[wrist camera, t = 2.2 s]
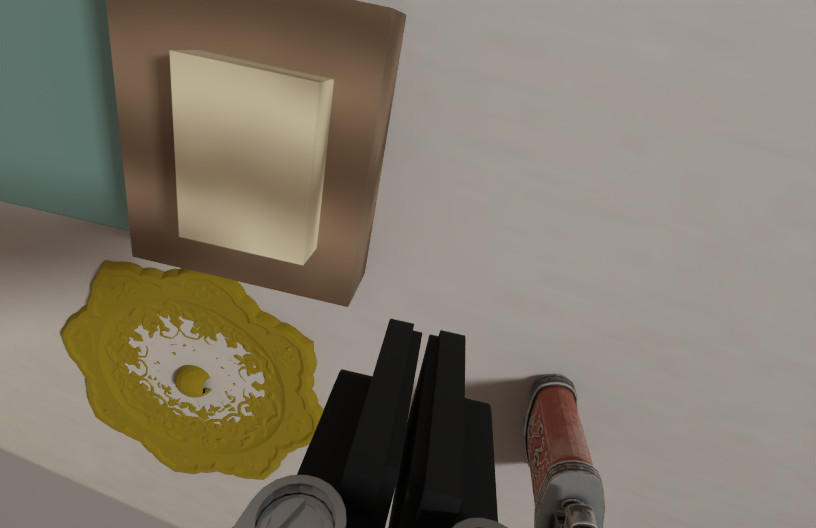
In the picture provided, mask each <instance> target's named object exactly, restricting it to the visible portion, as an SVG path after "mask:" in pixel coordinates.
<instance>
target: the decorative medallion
mask: <svg viewBox="0 0 816 528" xmlns="http://www.w3.org/2000/svg"><path fill="white" fill-rule="evenodd" d="M157 314H159V316H162V317H163V318H168V314H169V317H170V319H171V320H169V321H170V322H171V323H172V324H173V325H175V326H176V327H177V328H178V332H179V330H180V326H181V325H182V324H183V323H184V322H182V321H181V320H180V319H178V318H179V317H180V316H182V318H183V319H187V320H191V321H194V322H195V323H194V327H196V328H199V327H200V328H199V330H198V329H196V328H194V327H193V328H192V329H191V331H190V332H191V333H193V334H195V335H196V333H199V337H198V339H200V338H201V337H203V336H205V337H204V340H205V341H206V338H207V337H208V336H209V337H210V339H212V340H214V341H217V338H216V334H218V333H219V332H220V333H221V334H222V335H223V336H224V337H226V338H225V340H226V343H227V347H233V348H237V343H236V342H238V343H240V344H241V345H242V346H243V348H244V349H245V350H246V351H247V352H250V353H253V354H245V355H243V358H244V359H245V360H244V359H243V358H242V357H241V356H239V355H234V357H235V358H236V359H238V360H239V361H241V362H240V363H238V364H237V365H242V364H243V363H244V364H245V366H246V367H244V366H242V367H241V368H240V369H239V371H240V370H242V369H244V368H245V369H246V370H247V375H248V376H250V375H251V373H253V374H256V373H258V372H262V371H263V376H264V379H265V382H264V384H262V385H261V384H259V383H258V382H256V381H255V382H254V383H252V387H254V388H255V389H256V390H258V391H260V389H261V390H264V391H265V396H264V397H262V396H261V397H258V398H256V397H255V396H254V395H253V394H252V393H249V396H250V398H251V399H249V398H248V397H246V396H245V395H244V390H243V397H244V398H245V399H246V401H243V402H241V403H239V404H238V413H239V414H237V413H230V414H228V415H227V416H225V417H224V418H223V419H210V420H207V419H209V417H208V415H209V416H213V415H215V412H216V411H217V410H219V409H220V408H221V407H215V408H214V406H213V405H210V408H211V409H209V410H208V411H209V412H213V411H215V412H214V413H207V411H206V409H205V406H203V407H202V409H201V410H200V411H195V410H196V407H194V406H193V405H192V404H191V403H188V402H186V403H185V402H180V403H181V404H182V405H180V404H179V403H178V401H179V400H180V399H181V398H180V399H178V400H175V399H172V398H171V397H169V396H168V395H167V394H166V393H167V392H168V394H171V392H170V391H169V390H171V388H170V387H169V386H168V387H167V388H166V387H165V386H164V385H162V384H161V385H162V388H163V389H164V390H165V391H164V394H165V395H166V396H167V397H169V401H168V404H169V406H174V405H179V407H180V408H187V406H189V410H190V411H191V412H193V413H196V414H197V415H198V416H199V417H200V418H202V419H203V420H202V419H200V418H199V417H192V416H186V415H185V414H184V413H183V412H182V411H181V410H179V409H176V408H174V407H173V408H169V407H168V404H167V402H166V400H165V399H164V398H163V397H161V396H160V395H159V394H156V393H154V387H153V386H152V385H151V384H150V382H149V381H148V380H147V379H145V378H143V377H145V376H146V375H147V365H146V364H145V362H144V361H143V360H141V359H137V358H138V357H146V356H147V354H148V348H147V346H146V348H147V352H146V355H145V356H139V355H138V351H139V352H141V349H140V347H137V348H133V347H132V346H131V345H130V344H128V343H129V341H130V338H129V337H132V338H134V339H133V340H136V341H143V339H142V335H140V334H138V333H136V332H135V331H134V329H136V328H138V326H139V325H141V323H142V326H143V328H144V329H146V330H148V331H150V332H149V333H148V334H149V337H150V338H152V337H153V334H154V332H155V331H158V329H157V326H158V325H159V327H160V335H161V336H163V337H165V338H170V339H172V338H174V337H175V336H174V337H172V338H171V337H167V336H164V335H163V333H162V331H167V332H169V330H170V329H169V328H167V327H165V326H164V325H165V324H164V323H163V321H162V320H161V319H160V317H159V316H158V315H157ZM149 322H151V323H150V325H149ZM153 323H155V324H153ZM180 331H181V330H180ZM178 332H177V335H178ZM181 333H182V334H183V335H184V336H185V337H187V336H186V335H185V334H184V333H183V332H182V331H181ZM177 335H176V336H177ZM202 335H203V336H202ZM61 337H62V340H63V343H64V345H65V348H66V350H67V352H68V354H69V356H70V357H71V359H72V360H73V361H74V362H75V363H76V364H77V366H78V368H79V369H80V371H81V372H82V374H83V375H84V376H85V377H86V379H87V381H86V387H87V391H88V395H87V396H88V400H89V404H90V405H91V407H92V409H93V412H94V414H95V416H96V417H97V418H98V419H99V420H101V421H102V422H104V423H105V424H107V425H108V426H110V427H111V428H113V429H115V430H117V431H118V432H121V433H124V434H125V435H127V436H129V437H131V438H133V439H135V440H138V441H140V442H141V443H142V445H143V446H144V447H145V448H146V449H147V450H148V451H149V452H151V453H153V455H154V456H155V457H156V458H157V459H158V460H159V461H160V462H161V463H163V464H164V465H166V466H167V467H169V468H170V469H172V470H173V471H175V472H183V473H190V474H197V473H200V472H204V473H210V472H215V471H217V472H221V473H224V474H227V475H235V476H238V477H242V478H247V479H260V480H264V479H266V478H267V477H268V476H269V475H270V474H271V473H273V472H274V471H275V470H277V468H278V467H279V466H280V463H281V461H282V460H283V459H284V458H285V457H286V456H287V453H289V452H292V451H294V450H296V449H298V448H300V447H304V446H307V445H309V444H310V442H311V440H312V437H313V435H314V432H315V430H316V428H317V425H318V423H319V420H320V418H321V415H322V413H323V411H324V410H323V408H322V407H321V406H320V405H319V404H318V399H317V396H316V394H315V392H314V391H313V390H312V387H313V385H314V377H313V373H314V372H315V369H316V366H317V360H316V356H315V352H314V342H313V341H312V340H310V339H308V338H307V337H305V336H304V335H303V334H302V333H300V332H299V331H298V330H297V329H296V328H294V327H293V326H291V325H289V324H286V323H283V322H281V321H280V320H278V319H277V318H276V317H274V316H272V315H270V314H269V313H266V312H263V311H261V310H260V308H259V307H258V305H257V303H256V302H255V301H254V300H253V299H252V298H250V297H249V296H248V295H246V292H245V290H244V289H243V287H242V286H241V285H240V284H239V283H238V282H237V281H235V280H231V279H227V278H222V277H218V276H214V275H210V274H205V273H201V272H197V271H193V270H188V269H184V268H182V269H171V270H168V271H166V272H164V271H161V270H159V269H156V268H142V267H140V266H138V265H137V264H134V263H131V262H112V261H106V260H105V261H104V263H103V264H102V266H101V269H100V271H99V272H98V273H97V275H96V276H95V278H94V280H93V282H92V285H91V295H90V297H89V300H88V304H87V305H85V306H83V307H82V308H81V309H80V312H77V313H74V314H72V315H71V316H70V318H69V320H68V322H67V324H66V325H65V326H64V327H63V328H62V331H61ZM187 338H191V337H187ZM227 338H230V339H227ZM191 339H196V340H198V339H197V338H191ZM206 342H207V341H206ZM207 343H208V342H207ZM208 344H209V343H208ZM172 345H177V344H171V346H172ZM209 345H210V344H209ZM183 346H186V345H185V344H184V345H183ZM193 347H194V346H193ZM193 351H195V350H193ZM173 354H174V355H176V354H175V352H173ZM137 356H138V357H137ZM216 358H217V357H216ZM217 359H218V358H217ZM229 360H230V359H229ZM139 361H141V362H143V364H144V365H145V367H146V373H145V374H143V375H142V376H139V375H137V374H136V373H135V372H134V371H132V372H131V374H128V372H129V369H128V368H127V366H125V362H126V363H127V364H129V365H131V364H132V365H135V366H136V367H137V368H138V369H140V364H139V363H138V362H139ZM230 361H231V360H230ZM252 362H253V363H254V364H255V365H256V368H253V366H255V365H254V364H253V363H252ZM157 363H159V361H158V362H157ZM155 364H156V363H155ZM159 364H160V363H159ZM235 364H236V363H235ZM221 368H222V369H223V367H221ZM158 372H159V371H158ZM239 374H240V372H239ZM228 376H229V375H228ZM240 377H241V375H240ZM148 378H149V379H151V380H152V378H151V375H150V376H148ZM209 378H210V376H209V375H208V373H207V372H205V371H204V370H203V369H201V368H199V367H197V366H193V365H184V366H182V367H181V368H179V369H178V371H177V375H176V387H177V389H178V390H179V391H180V392H181V393H182V394H184V395H186V396H188V397H201V396H204V395H206V394H207V393H209V392H210V391H211V390H212V389H210V388H207V389H205V393H204V394H203V386H204V383H205V381H206V380H207V379H209ZM241 378H242V377H241ZM242 379H243V378H242ZM139 380H145V381H147V382H148V383H149V384H150V386H151V391H148V390H146V389H149V388H148V386H146V385H145V384H144V383H142V384H141V385H140V383H139ZM154 380H157V378H156V377H155V378H154ZM243 380H244V379H243ZM244 381H245V380H244ZM159 384H160V382H159V383H158V387H159V388H160V386H159ZM233 385H235V383H233ZM230 391H231V390H230ZM225 393H226V394H227V391H225ZM171 395H172V394H171ZM153 396H156V397H158V398H160V399H162V400H163V402H164V404H162V405H160V404H158V403H160V402H159V399H158V398H154V397H153ZM227 396H228V398H229V399H230V400H231V399H232V398H231V397H233V396H231V397H230V395H228V394H227ZM233 398H234V399H233V400H232V401H231V402H230V403H235V397H233ZM258 401H259V402H258ZM196 402H197V401H196ZM221 403H222V402H221ZM222 404H223V403H222ZM242 404H249V405H250V407H248V406H247V407H245V410H246V412H252V414H253V415H255V416H254V417H253V416H244V415H243V414H242V412H241V405H242ZM260 404H261V405H260ZM224 407H225V408H228V407H231V405H230V404H227V405H226V406H224ZM200 408H201V407H200ZM225 408H224V409H225ZM224 409H222V410H221V411H218V412H222V411H223V410H224ZM173 410H175V411H176V412H178V413H179V414H181V415H182V418H181V416H180V415H176V414H175V413H174V412H173ZM212 410H213V411H212ZM228 411H235V408H234V407H231V408H230V409H228ZM231 416H238V417H241V419H240V420H239V422H237V423H236V421H235V419H234V417H233V418H231V419H230V420H229V422H228V421H227V419H228V418H230V417H231ZM198 420H199V421H198ZM205 420H207V421H205ZM218 421H219V422H220V423H221V424H222V425H219V424H215V423H213V422H218Z"/></svg>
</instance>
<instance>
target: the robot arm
mask: <svg viewBox="0 0 816 528" xmlns="http://www.w3.org/2000/svg"><path fill="white" fill-rule="evenodd" d="M413 327H414V324H412V323H407V322H403V321H399V320H394V319H390V321H389V324H388V327H387V331H386V334H385V337H384V341H383V344H382V347H381V350H380V354H379V357H378V360H377V364H376V367H375V370H374V374H373V377H372V376H368V375H364V374H359V373H355V372H351V371H347V370H341V371H340V372H339V375H338V377H337V379H336V382H335V384H334V386H333V389H332V391H331V394H330V396H329V398H328V401H327V403H326V406H325V408H324V411H323V413H322V415H321V418H320V420H319V423H318V425H317V428H316V430H315V432H314V435H313V437H312V440H311V442H310V444H309V447H308V449H307V452H306V454H305V457H304V459H303V461H302V464H301V466H300V469H299V471H298V474H297V475H289V476H286V477H283V478H280V479H277V480H275V481H273V482H271V483H270V484H268V485H267V486H265V487H263V488H262V489H261V490H260V491H259V492H258V494H257V495H256V496H255V497H254V498H253V499H252V500H251V502H250V503H249V505H248V506H247V508H246V509H245V511H244V512H243V513H242V515H241V516H240V518H239V519H238V521H237V522H236V524H235V525H234V527H233V528H385V525H386V521H387V517H388V513H389V509H390V506H391V502H392V498H393V494H394V498H393V504H392V510H391V516H390V522H389V527H388V528H507V527H506V526H504V525H502V524H500V523H498V515H497V498H496V482H495V465H494V449H493V432H492V416H491V407H490V405H489V404H487V403H483V402H478V401H474V400H470V399H466V398H465V336H464V335H459V334H455V333H451V332H446V331H442V330H441V331H440V333H439V336H434V335H429V339H428V343H427V347H426V351H425V355H424V359H423V363H422V366H421V370H420V374H419V378H418V382H417V386H416V390H415V394H414V398H413V402H412V406H411V410H410V414H409V418H408V413H409V407H410V402H411V396H412V390H413V384H414V378H415V372H416V367H417V361H418V355H419V349H420V343H421V337H422V333H421V332H417V331H413ZM407 419H408V422H407ZM406 425H407V426H406ZM395 485H396V487H395ZM394 490H395V493H394Z"/></svg>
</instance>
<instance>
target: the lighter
mask: <svg viewBox="0 0 816 528" xmlns="http://www.w3.org/2000/svg"><path fill="white" fill-rule="evenodd" d="M523 440H524V448H525V454H526V460H527V464H528V466H529V467H530V471H531V479H532V487H533V494H534V502H535V518H534V528H603V522H604V513H605V502H604V489H603V485H602V481H601V478H600V475H599V472H598V470H597V469H596V468H595V467H594V466H593V464H592V461H591V457H590V453H589V450H588V446H587V443H586V439H585V436H584V432H583V428H582V425H581V421H580V418H579V414H578V404H577V395H576V392H575V388H574V385H573V383H572V381H571V380H570V379H569V378H567V377H565V376H563V375H558V374H547V375H544V376H541V377H539V378H538V379H536V380H535V381H534V383H533V385H532V388H531V390H530V393H529V396H528V399H527V402H526V407H525V412H524V417H523Z"/></svg>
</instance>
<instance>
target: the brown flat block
mask: <svg viewBox="0 0 816 528" xmlns="http://www.w3.org/2000/svg"><path fill="white" fill-rule="evenodd" d="M106 7H107V17H108V26H109V36H110V45H111V55H112V64H113V74H114V83H115V93H116V102H117V112H118V121H119V131H120V140H121V150H122V159H123V169H124V178H125V188H126V197H127V207H128V216H129V226H130V235H131V245H132V254H133V257H137V258H141V259H146V260H150V261H154V262H158V263H163V264H167V265H171V266H175V267H180V268H184V269H188V270H193V271H197V272H201V273H205V274H210V275H214V276H218V277H222V278H227V279H231V280H235V281H239V282H244V283H248V284H252V285H257V286H261V287H265V288H269V289H274V290H278V291H282V292H286V293H291V294H295V295H299V296H303V297H308V298H312V299H316V300H321V301H325V302H329V303H333V304H338V305H342V306H346V307H348V306H349V304H350V302H351V300H352V298H353V296H354V294H355V292H356V290H357V288H358V286H359V284H360V282H361V280H362V277H363V275H364V273H365V268H366V262H367V256H368V249H369V243H370V237H371V231H372V224H373V218H374V212H375V206H376V200H377V193H378V187H379V181H380V175H381V169H382V162H383V156H384V150H385V144H386V138H387V131H388V125H389V119H390V113H391V107H392V100H393V94H394V88H395V82H396V76H397V69H398V63H399V57H400V51H401V45H402V38H403V32H404V26H405V20H406V14H404V13H401V12H399V11H397V10H395V9H393V8H389V7H384V6H379V5H374V4H370V3H365V2H360V1H355V0H106ZM169 50H201V51H205V52H210V53H215V54H219V55H224V56H229V57H233V58H238V59H243V60H247V61H252V62H257V63H261V64H266V65H271V66H275V67H280V68H285V69H289V70H294V71H299V72H303V73H308V74H313V75H317V76H322V77H327V78H331V79H334V85H333V95H332V105H331V114H330V124H329V134H328V144H327V153H326V163H325V173H324V182H323V192H322V202H321V212H320V221H319V231H318V241H317V248H316V250H315V251H314V252H313V254H312V255H311V256H310V257H309V259H308V260H307V261H306V262H305V264H304V265H299V264H295V263H290V262H286V261H282V260H277V259H273V258H269V257H264V256H260V255H256V254H251V253H247V252H243V251H239V250H234V249H230V248H226V247H221V246H217V245H213V244H208V243H204V242H200V241H195V240H191V239H187V238H182V237H179V226H178V207H177V187H176V168H175V148H174V129H173V109H172V90H171V71H170V51H169Z"/></svg>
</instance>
